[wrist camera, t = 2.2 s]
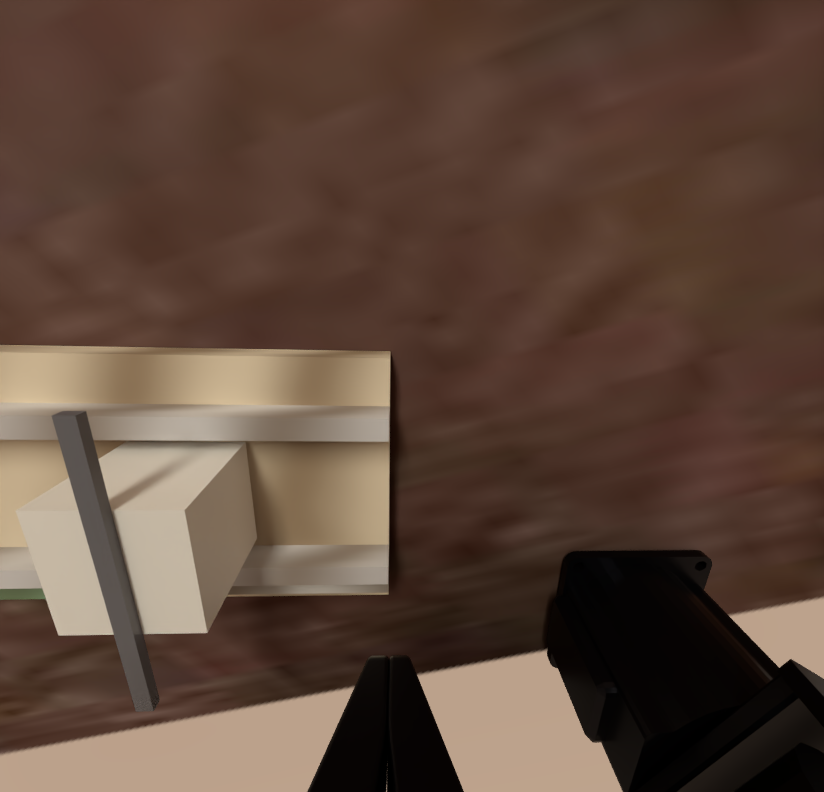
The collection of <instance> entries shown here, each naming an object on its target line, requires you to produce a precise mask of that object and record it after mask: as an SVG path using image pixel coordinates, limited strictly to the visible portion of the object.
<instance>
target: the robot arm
mask: <svg viewBox="0 0 824 792" xmlns="http://www.w3.org/2000/svg"><path fill="white" fill-rule="evenodd" d="M576 563H578V564H577V565H575V564H576ZM711 567H712V561H711V559H710V558H709V557H707V556H706V555H705V554H704V553H703V552H701V551H697V550H684V551H576V552H571V553H569V554H568V555H567V556H566V557H565V559H564V562H563V567H562V573H561V579H560V584H559V590H558V595H557V596H556V598H555V599H554V601H553V607H552V612H551V618H550V623H549V629H548V635H547V643H548V651H547V656H548V659H549V661H550V663H551V665H552V666H553V667H555V668H558V669H559V672H560V674H561V677H562V679H563V682H564V684H565V687H566V689H567V692H568V693H569V696H570V699H571V701H572V704H573V706H574V709H575V711H576V713H577V716H578V718H579V721H580V723H581V726H582V728H583V731H584V733H585V735H586V736H587V737H588V738H589V739H590V740H591V741H592V742H601V743H602V745H603V747H604V749H605V752H606V754H607V756H608V759H609V761H610V763H611V765H612V768H613V770H614V772H615V775H616V777H617V779H618V781H619V783H620V786H621V788H622V790H623V792H824V679H823V678H821V677H820V676H818V675H817V674H815V673H813V672H811V671H810V670H808V669H807V668H805V667H803V666H802V665H800V664H798V663H797V662H795V661H793V660H792V659H790V660H789V661H788V662H786V663H785V664H784V665H783V666H781V667H780V668H779V667H778V666H777V665H776V664H775V663H774V662H773V661H772V660H771V659H770V658H769V657H768V656H767V655H766V654H765V653H764V652H763V651H762V650H761V649H760V648H759V647H758V646H757V645H756V644H755V643H754V642H753V641H752V640H751V639H750V637H749V636H748V635H747V634H746V633H745V632H744V631H743V630H742V629H741V628H740V627H739V626H738V625H737V624H736V623H735V622H734V621H733V620H732V619H731V618H730V617H729V616H728V615H727V614H726V613H725V612H724V611H723V610H722V609H721V608H720V607H719V605H718V604H717V603H716V602H715V601H714V600H713V599H712V598H711V597H710V596H709V595H708V594H707V593H706V592H705V591H704V588H705V585H706V582H707V579H708V576H709V573H710V570H711ZM386 785H387V792H464V791H463V789H462V786H461V784H460V781H459V779H458V776H457V774H456V771H455V769H454V766H453V764H452V761H451V759H450V756H449V754H448V751H447V749H446V746H445V744H444V741H443V739H442V736H441V734H440V731H439V729H438V727H437V724H436V721H435V719H434V716H433V714H432V711H431V709H430V706H429V704H428V701H427V699H426V696H425V694H424V691H423V689H422V686H421V684H420V682H419V679H418V676H417V674H416V672H415V669H414V667H413V664H412V662H411V659H410V658H409V657H408V656H407V655H396V656H391V657H390V658H388V657H387V656H370V657H369V658H368V660H367V661H366V664H365V666H364V668H363V670H362V672H361V675H360V677H359V679H358V681H357V683H356V686H355V688H354V690H353V692H352V694H351V697H350V699H349V701H348V703H347V706H346V708H345V710H344V712H343V714H342V717H341V719H340V721H339V723H338V725H337V728H336V730H335V732H334V734H333V737H332V739H331V741H330V743H329V745H328V747H327V750H326V752H325V754H324V757H323V759H322V761H321V763H320V765H319V767H318V770H317V772H316V774H315V776H314V778H313V781H312V783H311V785H310V787H309V789H308V792H386Z"/></svg>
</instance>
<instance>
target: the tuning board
mask: <svg viewBox="0 0 824 792" xmlns="http://www.w3.org/2000/svg"><path fill="white" fill-rule="evenodd" d="M390 359H391V351H337V350H276V349H215V348H153V347H92V346H31V345H0V600H6V599H46V597H45V595H44V592H43V589H42V586H41V583H40V580H39V577H38V574H37V571H36V569H35V566H34V563H33V560H32V557H31V554H30V551H29V548H28V545H27V543H26V540H25V537H24V534H23V531H22V528H21V525H20V522H19V519H18V516H17V514H16V510H18V509H19V508H21V507H22V506H24V505H26V504H27V503H29V502H30V501H32V500H34V499H35V498H37V497H38V496H40V495H42V494H43V493H45V492H46V491H48V490H50V489H51V488H53V487H54V486H56V485H58V484H59V483H61V482H62V481H64V480H66V479H67V478H69V476H68V472H67V469H66V465H65V462H64V458H63V455H62V451H61V448H60V444H59V441H58V437H57V434H56V430H55V427H54V423H53V420H52V415H54V414H56V413H59V412H61V411H86V413H87V417H88V421H89V425H90V428H91V432H92V436H93V440H94V444H95V448H96V452H97V456H98V459H99V458H101V457H103V456H104V455H106V454H107V453H109V452H111V451H112V450H114V449H115V448H117V447H119V446H120V445H122V444H123V443H125V442H127V441H154V442H246V450H247V458H248V466H249V475H250V483H251V491H252V499H253V508H254V516H255V524H256V533H257V539H256V541H255V543H254V545H253V547H252V549H251V551H250V553H249V555H248V556H247V558H246V560H245V562H244V564H243V566H242V568H241V570H240V572H239V574H238V576H237V577H236V579H235V581H234V583H233V585H232V587H231V589H230V591H229V593H228V595H227V596H226V597H232V596H309V595H387V594H388V592H389V498H390Z"/></svg>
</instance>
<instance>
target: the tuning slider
mask: <svg viewBox="0 0 824 792" xmlns="http://www.w3.org/2000/svg"><path fill="white" fill-rule="evenodd" d="M52 420H53V423H54V427H55V430H56V434H57V437H58V441H59V444H60V448H61V451H62V455H63V458H64V462H65V465H66V469H67V472H68V476H69V478H67V479H66V480H64V481H62V482H61V483H59V484H58V485H56V486H54V487H53V488H51V489H50V490H48V491H46V492H45V493H43V494H42V495H40V496H38V497H37V498H35V499H34V500H32V501H30V502H29V503H27V504H26V505H24V506H22V507H21V508H19V509H18V510H16V514H17V516H18V519H19V522H20V525H21V528H22V531H23V534H24V537H25V540H26V543H27V545H28V548H29V551H30V554H31V557H32V560H33V563H34V566H35V569H36V571H37V574H38V577H39V580H40V583H41V586H42V589H43V592H44V595H45V597H46V600H47V603H48V606H49V609H50V612H51V615H52V618H53V621H54V624H55V626H56V629H57V632H58V635H114V637H115V640H116V644H117V647H118V651H119V654H120V658H121V661H122V665H123V668H124V672H125V675H126V678H127V682H128V685H129V689H130V692H131V696H132V699H133V703H134V706H135V710H136V711H154V709H155V708H156V706H157V704H158V702H159V700H160V699H159V695H158V691H157V687H156V683H155V679H154V675H153V672H152V668H151V664H150V660H149V656H148V652H147V648H146V644H145V640H144V636H143V634H175V633H208V631H209V629H210V627H211V625H212V623H213V621H214V619H215V617H216V616H217V614H218V612H219V610H220V608H221V606H222V604H223V602H224V600H225V598H226V596H227V595H228V593H229V591H230V589H231V587H232V585H233V583H234V581H235V579H236V577H237V576H238V574H239V572H240V570H241V568H242V566H243V564H244V562H245V560H246V558H247V556H248V555H249V553H250V551H251V549H252V547H253V545H254V543H255V541H256V539H257V533H256V524H255V516H254V508H253V499H252V491H251V483H250V475H249V466H248V458H247V450H246V442H154V441H127V442H125V443H123V444H122V445H120V446H119V447H117V448H115V449H114V450H112V451H111V452H109V453H107V454H106V455H104V456H103V457H101V458H99V459H98V456H97V452H96V448H95V444H94V440H93V436H92V432H91V428H90V425H89V421H88V417H87V413H86V411H61V412H59V413H56V414H54V415H52Z"/></svg>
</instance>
